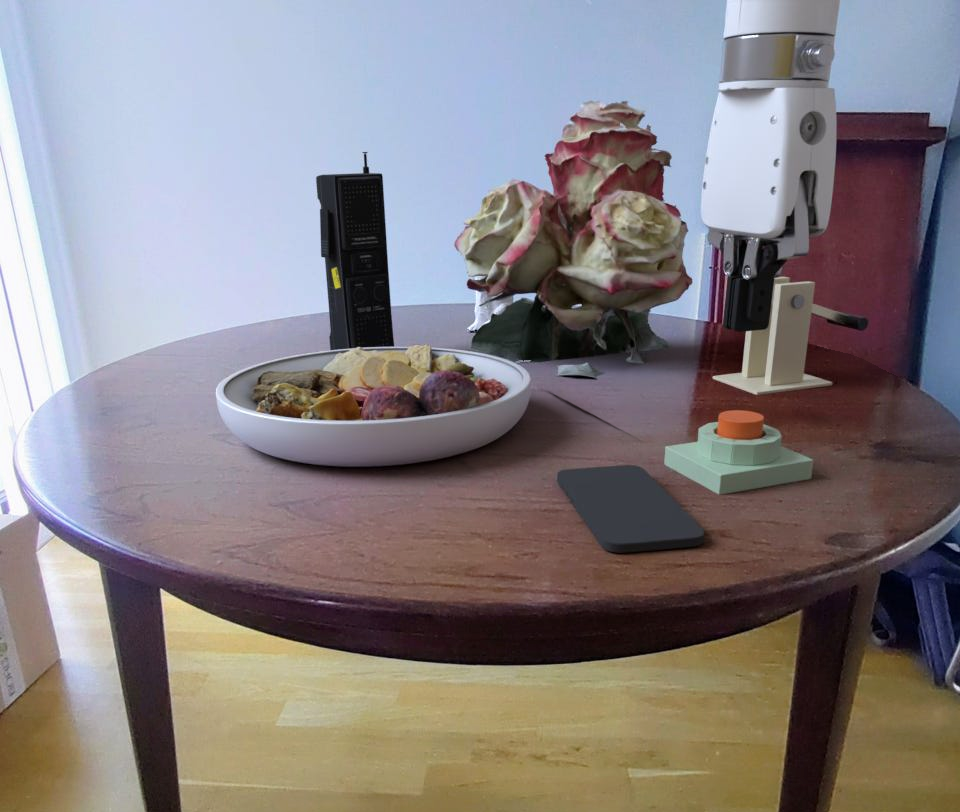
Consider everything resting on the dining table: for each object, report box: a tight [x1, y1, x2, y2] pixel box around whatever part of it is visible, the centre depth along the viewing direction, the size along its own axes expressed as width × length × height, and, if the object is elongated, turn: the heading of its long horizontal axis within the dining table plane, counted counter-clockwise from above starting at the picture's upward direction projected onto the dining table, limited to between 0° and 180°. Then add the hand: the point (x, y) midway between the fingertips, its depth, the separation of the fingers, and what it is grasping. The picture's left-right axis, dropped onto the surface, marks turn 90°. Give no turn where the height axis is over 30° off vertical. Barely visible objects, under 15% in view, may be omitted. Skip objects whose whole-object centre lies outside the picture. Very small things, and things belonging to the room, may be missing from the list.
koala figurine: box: [459, 252, 514, 330], centre depth 133 cm, size 8×7×12 cm
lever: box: [771, 283, 869, 332], centre depth 99 cm, size 12×5×2 cm, turn 111°
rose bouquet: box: [454, 100, 693, 381], centre depth 109 cm, size 26×29×30 cm
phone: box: [556, 464, 706, 554], centre depth 68 cm, size 7×1×15 cm
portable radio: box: [315, 151, 395, 350], centre depth 112 cm, size 8×6×25 cm
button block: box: [663, 421, 814, 495], centre depth 75 cm, size 9×8×4 cm
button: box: [717, 409, 765, 440], centre depth 74 cm, size 4×4×2 cm
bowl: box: [215, 344, 532, 468], centre depth 88 cm, size 30×30×8 cm
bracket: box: [712, 276, 833, 396], centre depth 98 cm, size 10×8×12 cm
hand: (745, 328), depth 71 cm, fingers closed
